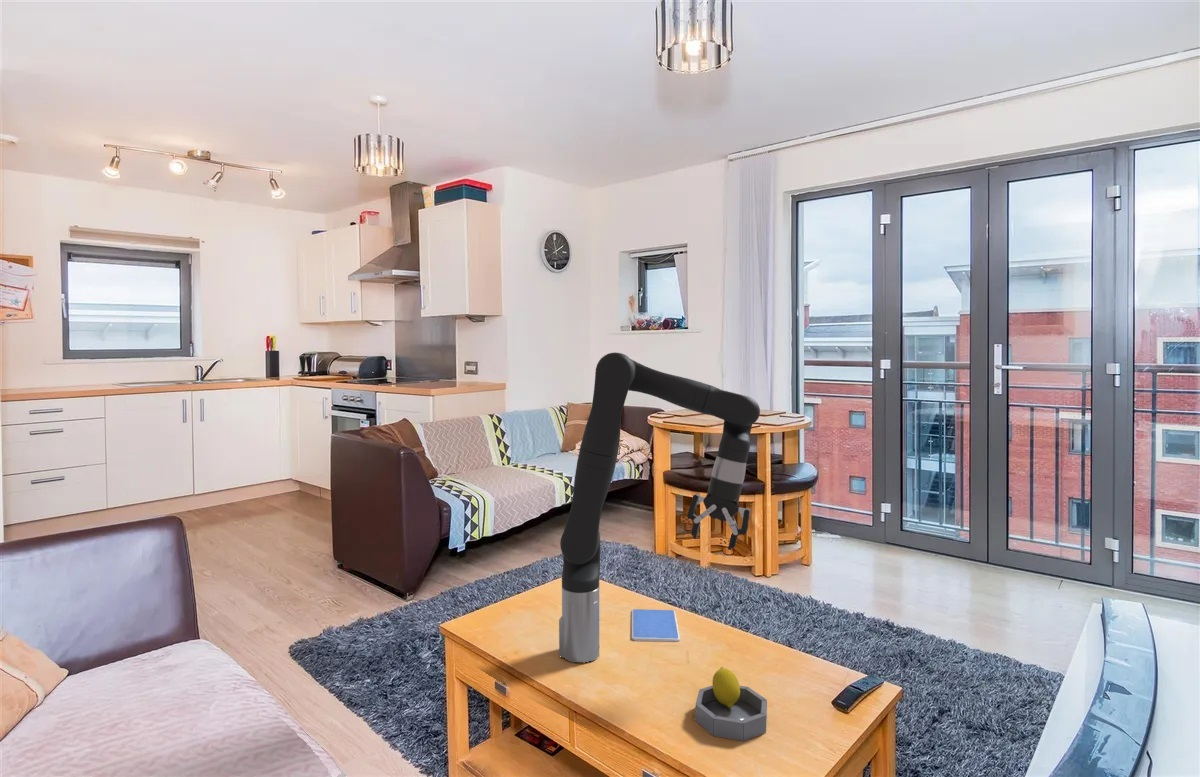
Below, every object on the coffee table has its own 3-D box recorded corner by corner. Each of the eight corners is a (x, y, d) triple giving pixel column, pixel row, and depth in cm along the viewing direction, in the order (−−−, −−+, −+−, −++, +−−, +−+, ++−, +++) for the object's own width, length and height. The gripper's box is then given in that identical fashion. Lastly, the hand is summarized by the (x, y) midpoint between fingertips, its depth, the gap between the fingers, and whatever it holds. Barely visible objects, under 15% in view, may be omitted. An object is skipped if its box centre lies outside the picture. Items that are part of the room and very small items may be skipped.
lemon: (743, 702, 125) (733, 661, 131) (715, 706, 126) (707, 665, 131) (745, 709, 129) (735, 669, 135) (718, 713, 130) (710, 673, 135)
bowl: (692, 732, 122) (692, 714, 122) (701, 695, 136) (701, 679, 135) (765, 744, 118) (765, 726, 118) (767, 705, 132) (767, 689, 131)
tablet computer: (631, 612, 181) (631, 607, 181) (675, 613, 181) (675, 608, 180) (631, 642, 162) (631, 637, 162) (680, 644, 161) (680, 639, 161)
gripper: (695, 471, 147) (680, 537, 148) (755, 487, 142) (739, 556, 143) (701, 468, 154) (687, 532, 155) (759, 484, 149) (744, 549, 150)
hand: (712, 543), depth 149 cm, fingers open, 8 cm apart
